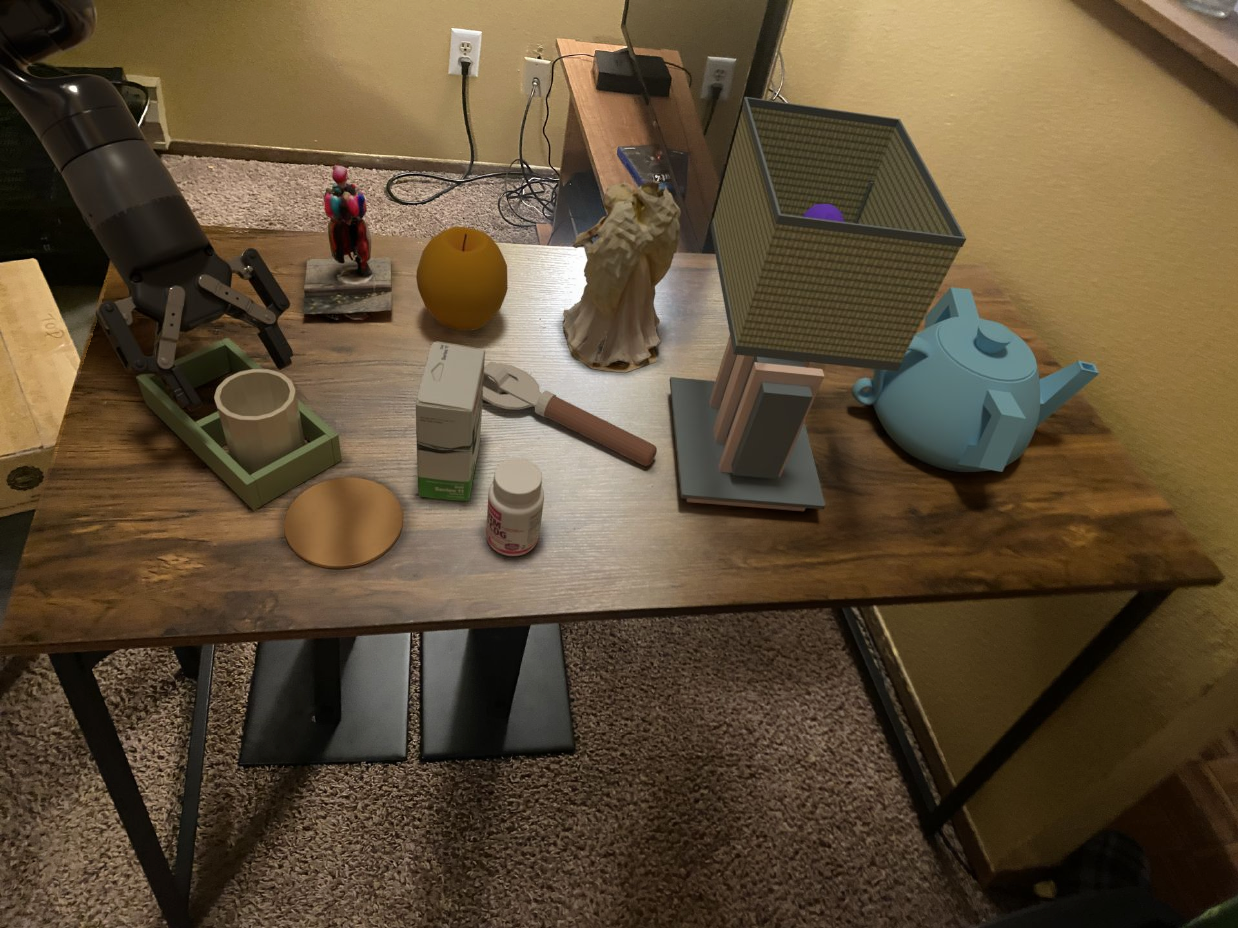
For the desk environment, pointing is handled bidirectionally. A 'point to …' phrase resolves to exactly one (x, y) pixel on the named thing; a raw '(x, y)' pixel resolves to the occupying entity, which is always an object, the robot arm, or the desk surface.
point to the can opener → (559, 411)
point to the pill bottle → (515, 507)
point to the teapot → (967, 390)
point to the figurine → (623, 278)
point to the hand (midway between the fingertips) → (243, 387)
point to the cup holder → (210, 436)
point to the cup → (259, 417)
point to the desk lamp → (806, 290)
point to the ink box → (449, 420)
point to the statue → (347, 260)
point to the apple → (462, 278)
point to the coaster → (343, 523)
